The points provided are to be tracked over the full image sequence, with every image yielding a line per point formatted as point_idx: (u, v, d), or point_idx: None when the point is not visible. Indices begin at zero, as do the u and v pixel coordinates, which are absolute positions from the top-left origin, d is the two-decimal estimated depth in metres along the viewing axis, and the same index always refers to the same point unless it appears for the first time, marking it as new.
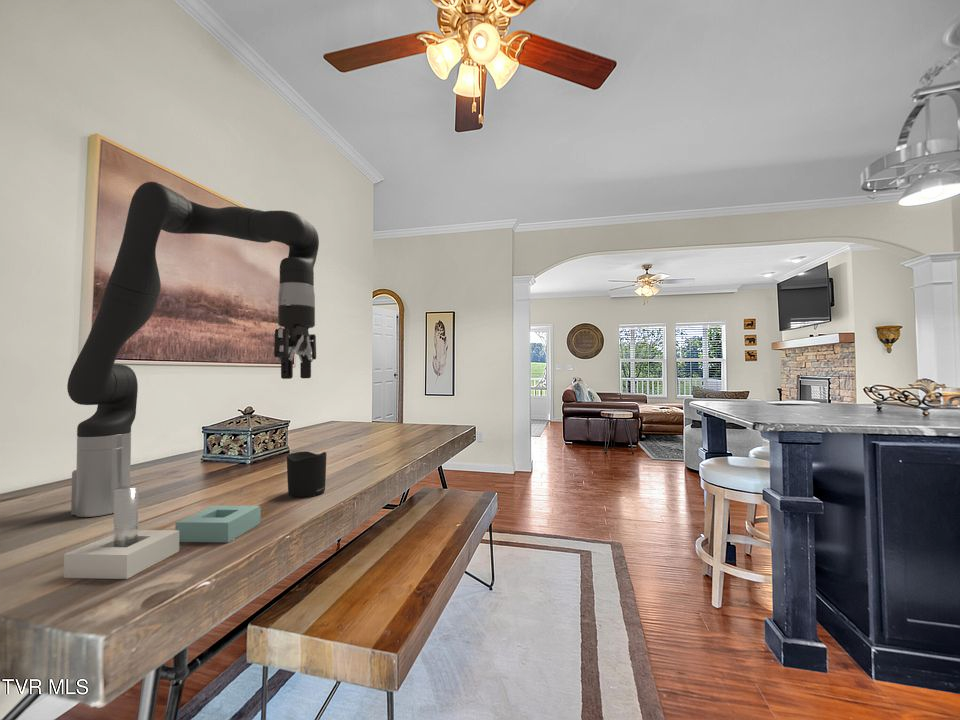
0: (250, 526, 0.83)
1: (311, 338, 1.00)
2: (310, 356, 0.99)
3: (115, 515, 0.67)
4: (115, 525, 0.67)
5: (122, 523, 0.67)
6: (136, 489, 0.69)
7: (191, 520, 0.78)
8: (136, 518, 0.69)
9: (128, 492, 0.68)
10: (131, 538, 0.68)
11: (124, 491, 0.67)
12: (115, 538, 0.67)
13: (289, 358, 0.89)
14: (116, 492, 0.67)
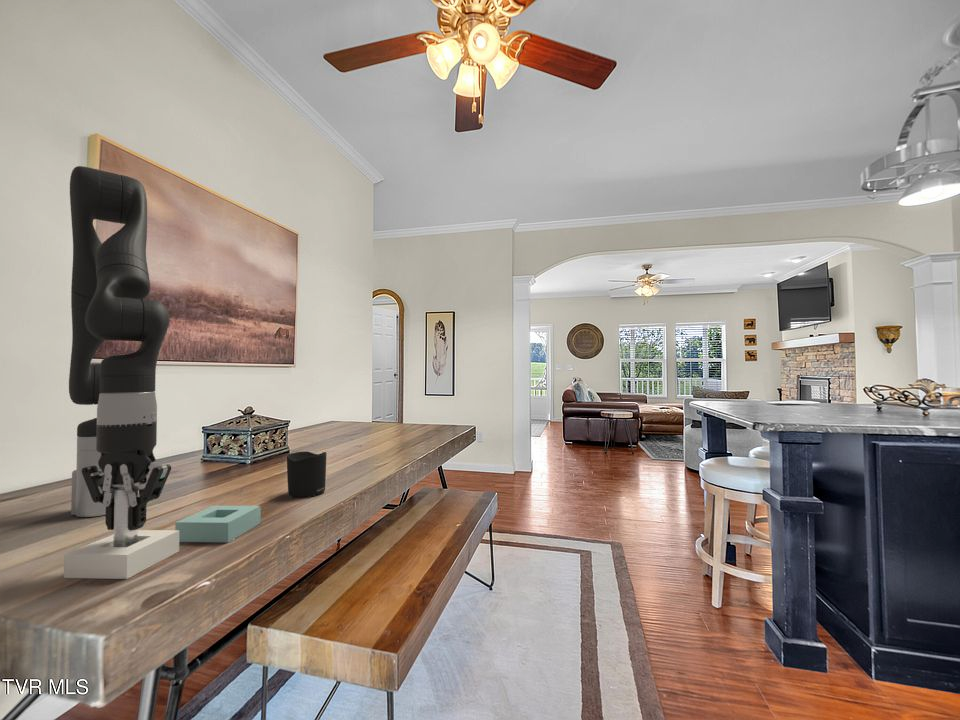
0: (250, 526, 0.83)
1: None
2: None
3: (115, 515, 0.67)
4: (115, 525, 0.67)
5: (122, 522, 0.67)
6: None
7: (191, 520, 0.78)
8: None
9: None
10: (131, 538, 0.68)
11: (123, 491, 0.67)
12: (115, 538, 0.67)
13: None
14: (116, 492, 0.67)
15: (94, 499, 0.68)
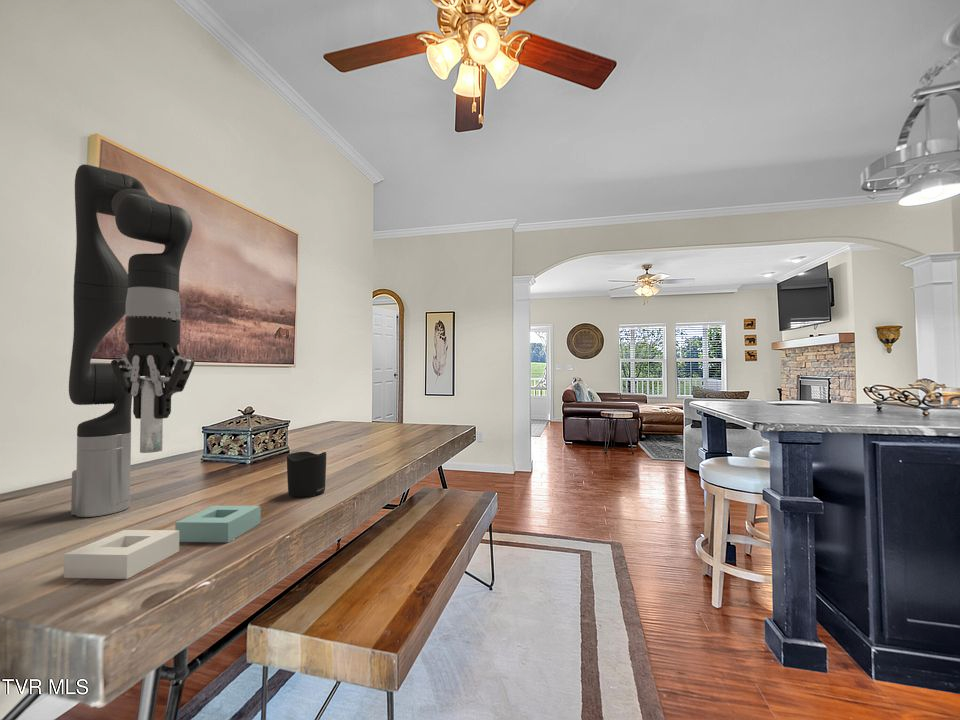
0: (250, 526, 0.83)
1: None
2: None
3: (142, 404, 0.71)
4: (142, 413, 0.71)
5: (148, 411, 0.71)
6: None
7: (191, 520, 0.78)
8: None
9: None
10: (157, 427, 0.72)
11: (150, 381, 0.71)
12: (142, 425, 0.71)
13: None
14: (143, 382, 0.71)
15: (123, 389, 0.72)
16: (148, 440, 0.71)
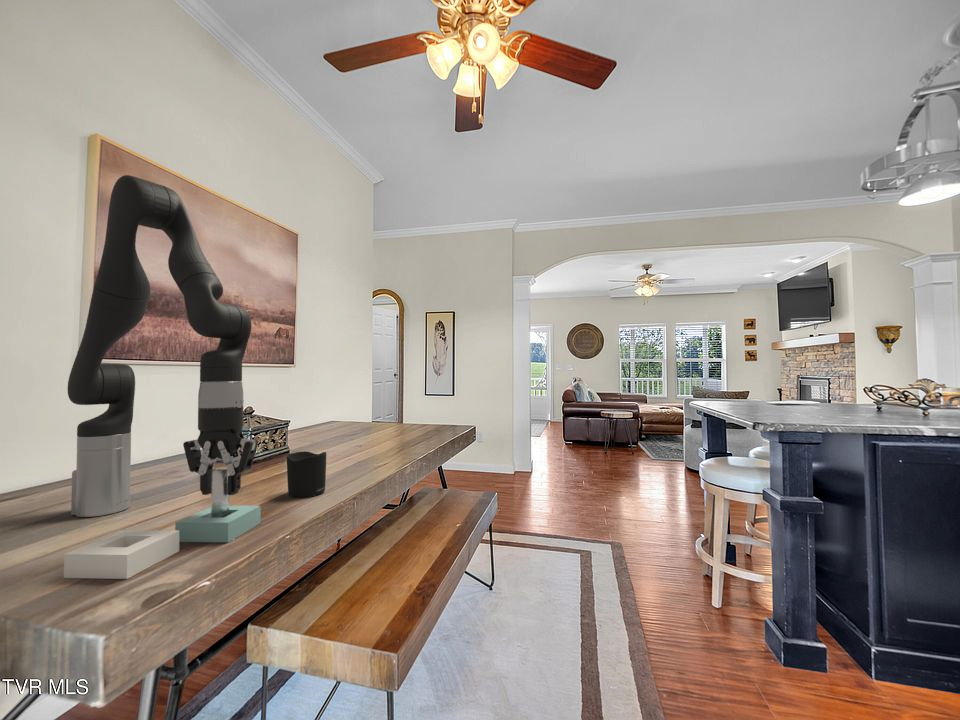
0: (250, 526, 0.83)
1: None
2: None
3: (212, 491, 0.81)
4: (213, 499, 0.81)
5: (218, 497, 0.81)
6: None
7: (191, 520, 0.78)
8: None
9: (223, 472, 0.81)
10: (225, 511, 0.81)
11: (219, 471, 0.81)
12: (213, 510, 0.81)
13: None
14: (213, 472, 0.81)
15: (191, 469, 0.81)
16: None
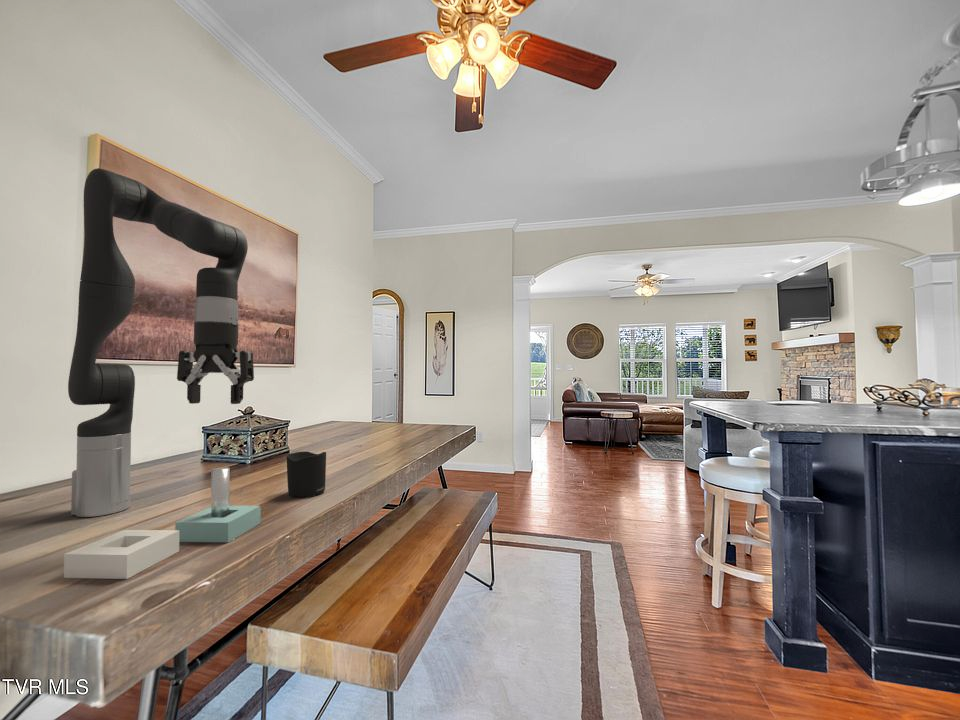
0: (250, 526, 0.83)
1: None
2: None
3: (213, 491, 0.81)
4: (213, 499, 0.81)
5: (218, 497, 0.81)
6: (228, 470, 0.82)
7: (191, 520, 0.78)
8: (228, 494, 0.82)
9: (223, 472, 0.81)
10: (225, 511, 0.81)
11: (220, 471, 0.81)
12: (213, 510, 0.81)
13: None
14: (213, 472, 0.81)
15: (178, 378, 0.84)
16: None
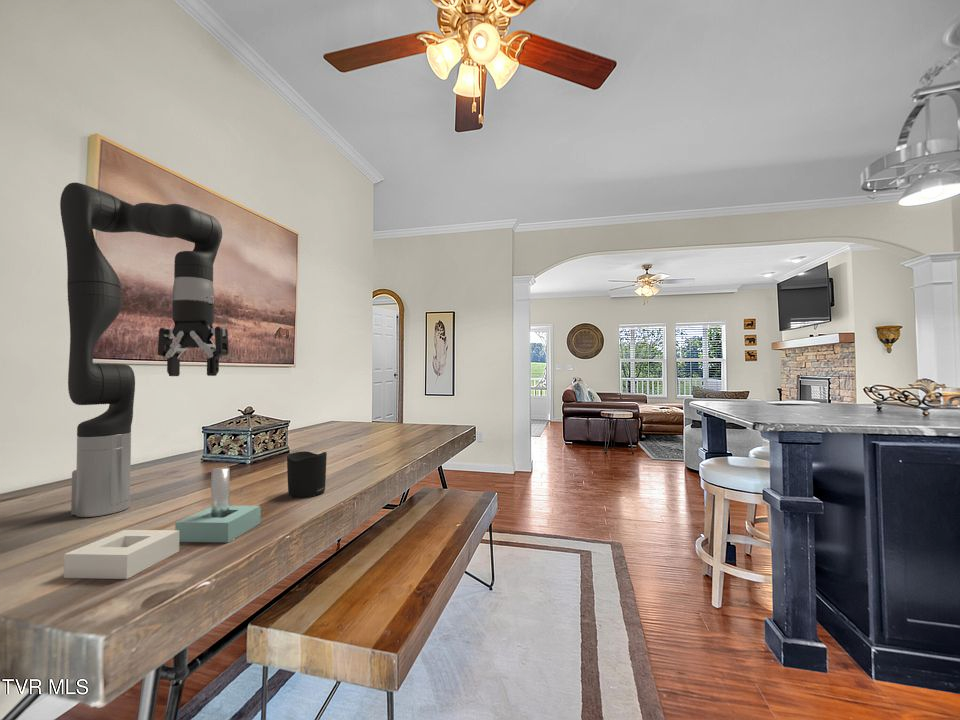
0: (250, 526, 0.83)
1: None
2: None
3: (213, 491, 0.81)
4: (213, 499, 0.81)
5: (218, 497, 0.81)
6: (228, 470, 0.82)
7: (191, 520, 0.78)
8: (228, 494, 0.82)
9: (223, 472, 0.81)
10: (225, 511, 0.81)
11: (220, 471, 0.81)
12: (213, 510, 0.81)
13: None
14: (213, 472, 0.81)
15: (159, 352, 0.91)
16: None
